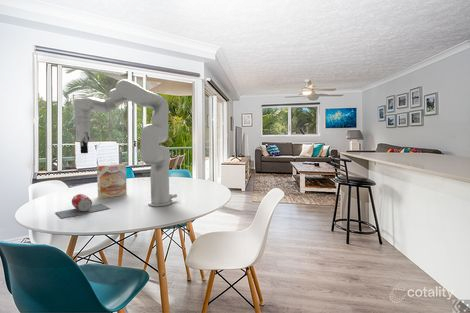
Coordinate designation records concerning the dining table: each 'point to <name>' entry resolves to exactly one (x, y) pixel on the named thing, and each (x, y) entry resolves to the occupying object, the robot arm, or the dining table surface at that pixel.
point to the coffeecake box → (111, 180)
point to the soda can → (81, 202)
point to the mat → (75, 212)
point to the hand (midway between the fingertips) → (84, 153)
